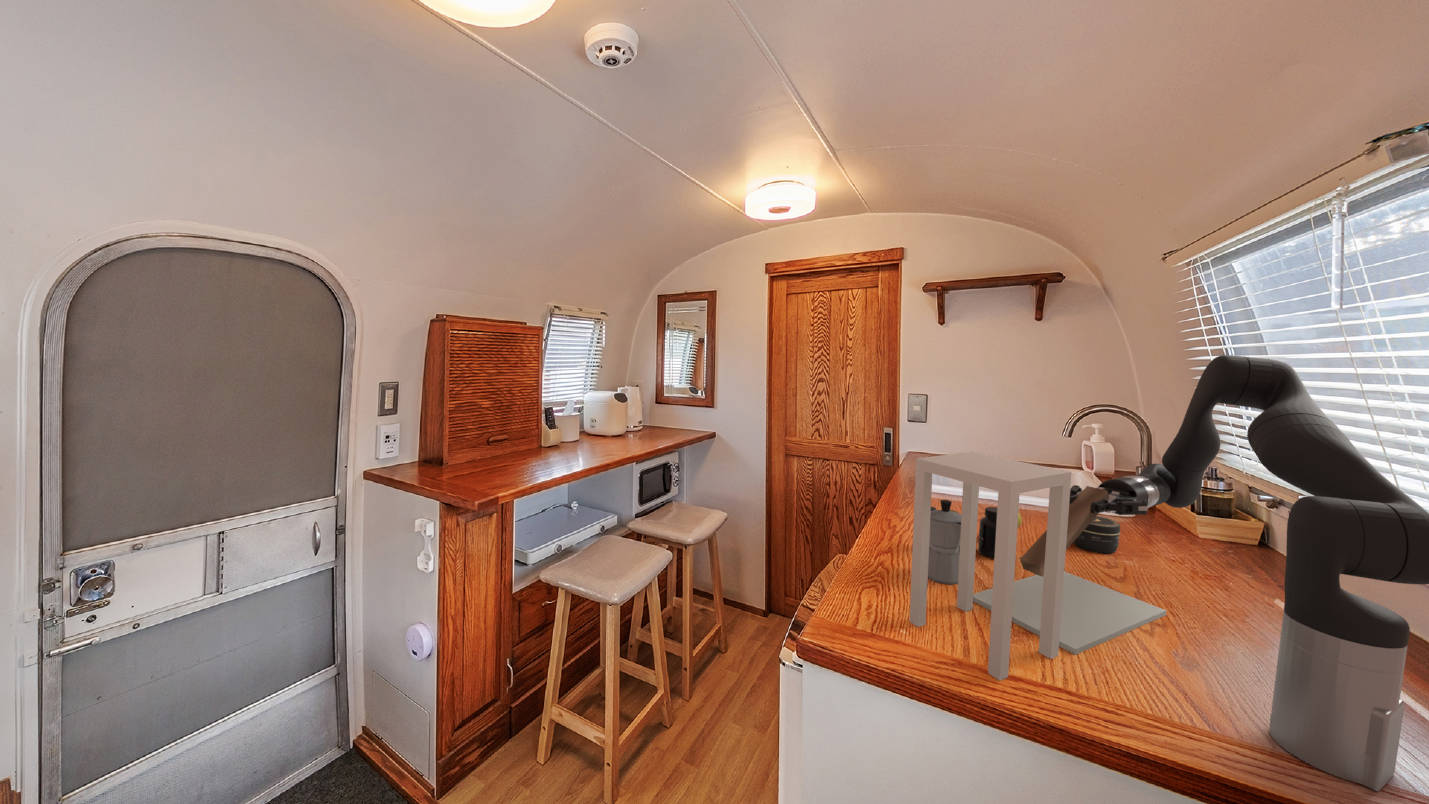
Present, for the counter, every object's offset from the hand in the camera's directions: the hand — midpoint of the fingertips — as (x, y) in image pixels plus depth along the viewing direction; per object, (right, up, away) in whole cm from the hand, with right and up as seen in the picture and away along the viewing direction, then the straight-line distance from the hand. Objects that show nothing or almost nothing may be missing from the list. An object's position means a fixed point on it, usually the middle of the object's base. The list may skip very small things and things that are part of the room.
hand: (1081, 505), depth 94 cm
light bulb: (+6, -18, +34) cm, 39 cm away
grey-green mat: (-3, -21, +1) cm, 21 cm away
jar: (+27, -18, +30) cm, 45 cm away
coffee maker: (-22, -20, +15) cm, 33 cm away
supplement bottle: (-2, -19, +26) cm, 32 cm away
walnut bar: (-4, -6, -1) cm, 7 cm away
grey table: (-26, -22, -10) cm, 36 cm away
